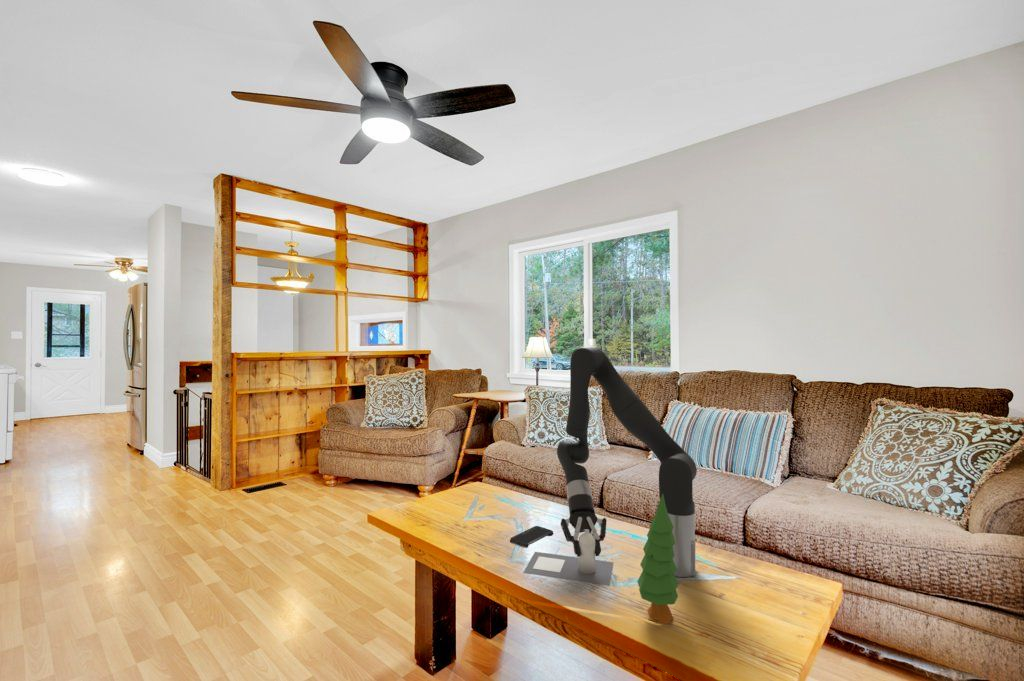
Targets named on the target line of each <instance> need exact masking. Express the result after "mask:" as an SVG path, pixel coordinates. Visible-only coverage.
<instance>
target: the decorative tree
mask: <svg viewBox="0 0 1024 681" xmlns="http://www.w3.org/2000/svg"><path fill="white" fill-rule="evenodd" d="M656 507H657V508H656V511H655V513H654V516H653V519H652V520H651V523H650V524H649V527H650V528H649V529H648V531H647V534H646V536H647V539H646V542H645V544H644V546H643V548H642V549H643V553H644V556H643V558H642V560H641V561H640V567H641V569H642V572H641V573H640V576H639V577H638V579H637V585H638V590H639V594H640V597H641V599H642V600H644V601H646V602H649V603H650V604H651V605H650V606H649V608H648V609H647V610H646V612H647V615H648V617H649V618H650V619H648V621H649V622H652V623H655V624H663V625H668V624H669V623H670V622H671V621H672V620H673V619H674V616H673V614H672V612H671V608H670V607H669V605H675V604H676V601H678V600H677V599H678V598H679V595H678V592H677V588H678V586H679V584H680V583H679V581H678V578H677V576H675V575H674V572H675V571H677V568H676V566H675V563H674V561H673V558H674V556H675V554H674V550H673V545H674V544H675V540H674V536H673V532H672V530H673V528H674V527H673V524H672V522H671V520H670V518H669V515H668V512H667V509H666V505H665V501H664V495H663V494H662V496H661V499H660V498H659V501H658V504H657V506H656Z"/></svg>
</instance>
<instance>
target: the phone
mask: <svg viewBox="0 0 1024 681" xmlns="http://www.w3.org/2000/svg"><path fill="white" fill-rule="evenodd" d="M553 534H554V531H553V530H552V529H548V528H545V527H543V526H540V525H534V526H532V527H530V528H528V529H526V530H523V531H522V532H519V533H518V534H516V535H514V536H511V537H510V539H509V540H510V542H511V543H514V544H517V545H519V546H522V547H525V548H528V547H529V546H530V545H531V544H534V543H535V542H537V541H539V540H541V539H543V538H545V537H550V536H552V535H553Z"/></svg>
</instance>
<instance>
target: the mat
mask: <svg viewBox="0 0 1024 681" xmlns="http://www.w3.org/2000/svg"><path fill="white" fill-rule="evenodd" d="M613 568H614V561H606V560H598V559H595V572H594V573H592V574H585V573H582V572H580V571H579V570H578V557H577V556H569V555H563V554H554V553H546V552H540V551H534V553H533V555H532V556H531V558H530V560H528V564H527V565H526V566H525V569H524V570H523V572H522V573H523V574H529V575H536V576H541V577H542V576H543V577H548V578H549V577H550V578H555V579H556V578H557V579H563V580H569V581H577V582H581V583H582V582H583V583H590V584H596V585H603V586H611V579H612V572H613Z"/></svg>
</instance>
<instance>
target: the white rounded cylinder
mask: <svg viewBox="0 0 1024 681" xmlns="http://www.w3.org/2000/svg"><path fill="white" fill-rule="evenodd" d="M578 541H579V546H580V557H578V570H579V571H580V572H582V573H585V574H592V573H594V572H595V560H596V554H595V538H594V537H593V535H591V534H590V533H589V529H585V532H582V533H581V535H579V536H578Z"/></svg>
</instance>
